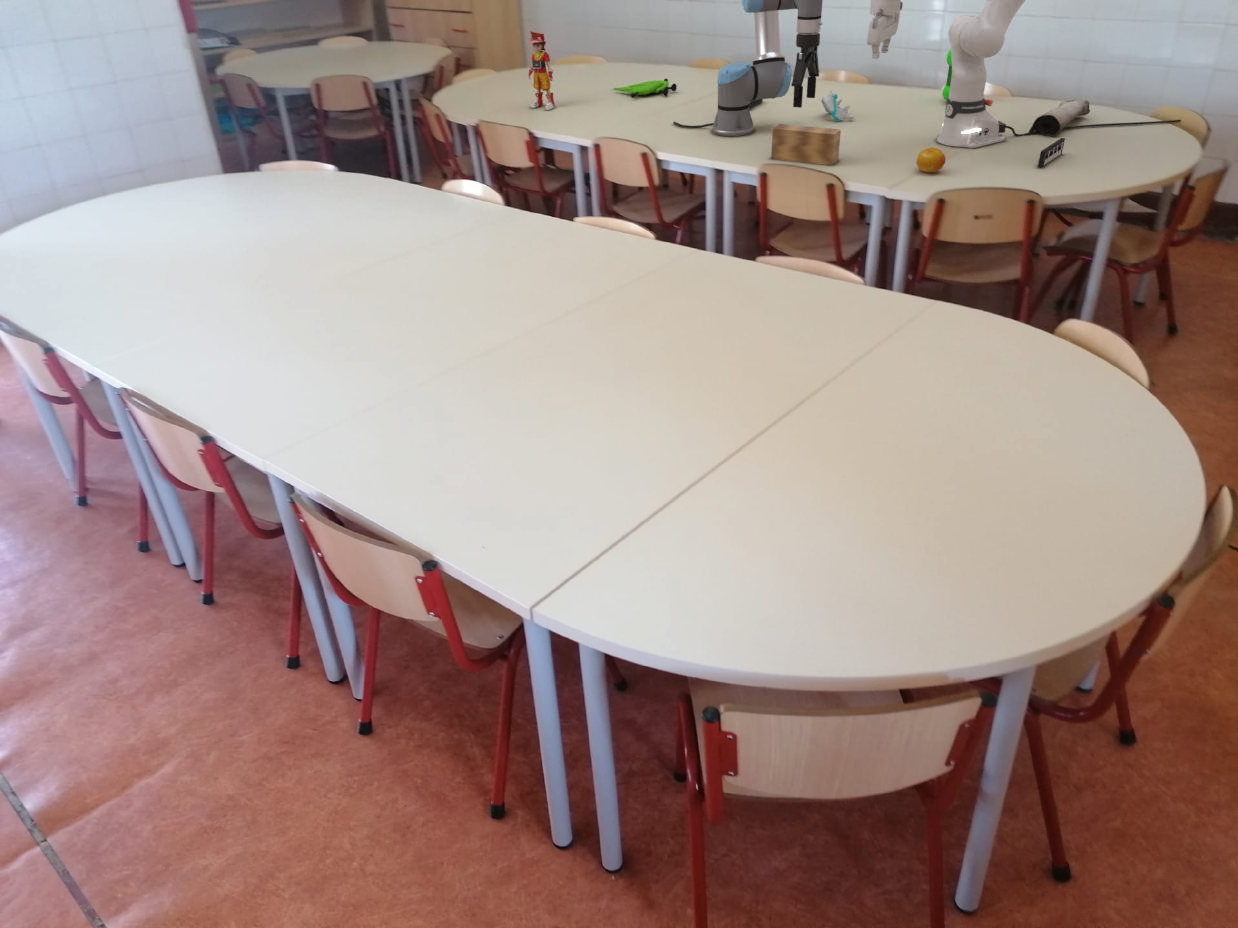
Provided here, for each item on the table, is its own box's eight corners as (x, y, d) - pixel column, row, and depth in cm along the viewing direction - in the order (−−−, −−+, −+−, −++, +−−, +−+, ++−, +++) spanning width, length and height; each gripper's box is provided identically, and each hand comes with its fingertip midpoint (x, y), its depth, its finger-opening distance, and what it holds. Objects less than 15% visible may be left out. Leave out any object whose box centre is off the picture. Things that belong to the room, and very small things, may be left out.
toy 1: (525, 109, 381) (517, 32, 364) (534, 104, 388) (527, 28, 371) (550, 110, 377) (543, 32, 360) (559, 105, 384) (553, 28, 367)
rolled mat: (1057, 104, 331) (1081, 87, 323) (1070, 125, 332) (1095, 108, 324) (1024, 126, 314) (1049, 109, 306) (1039, 148, 314) (1064, 131, 306)
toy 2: (686, 85, 398) (631, 84, 414) (685, 72, 395) (629, 72, 411) (651, 104, 381) (596, 103, 397) (650, 92, 378) (594, 91, 394)
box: (771, 159, 306) (772, 128, 300) (778, 154, 310) (779, 124, 304) (832, 165, 296) (834, 134, 291) (838, 160, 301) (840, 129, 295)
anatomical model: (816, 90, 346) (842, 83, 346) (819, 117, 352) (844, 110, 352) (827, 99, 334) (853, 92, 333) (830, 127, 340) (856, 120, 339)
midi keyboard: (1041, 167, 283) (1045, 151, 280) (1037, 167, 283) (1040, 151, 280) (1062, 154, 293) (1065, 138, 290) (1057, 153, 294) (1061, 137, 291)
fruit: (910, 163, 282) (927, 140, 279) (912, 165, 290) (928, 143, 287) (933, 178, 281) (950, 155, 278) (933, 180, 289) (950, 157, 286)
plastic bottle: (973, 101, 354) (984, 32, 339) (955, 106, 349) (966, 36, 335) (952, 97, 361) (962, 29, 346) (934, 102, 356) (944, 33, 342)
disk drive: (747, 111, 360) (763, 102, 370) (747, 104, 359) (763, 95, 369) (724, 109, 365) (740, 100, 375) (724, 101, 363) (740, 93, 373)
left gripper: (807, 40, 278) (802, 112, 290) (831, 26, 295) (826, 94, 307) (784, 39, 281) (780, 110, 293) (809, 26, 298) (805, 93, 310)
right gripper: (885, 13, 269) (879, 62, 277) (904, 2, 283) (899, 50, 291) (864, 12, 272) (860, 61, 280) (884, 2, 286) (879, 49, 294)
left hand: (804, 102), depth 300 cm, fingers open, 13 cm apart
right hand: (880, 55), depth 286 cm, fingers open, 8 cm apart
